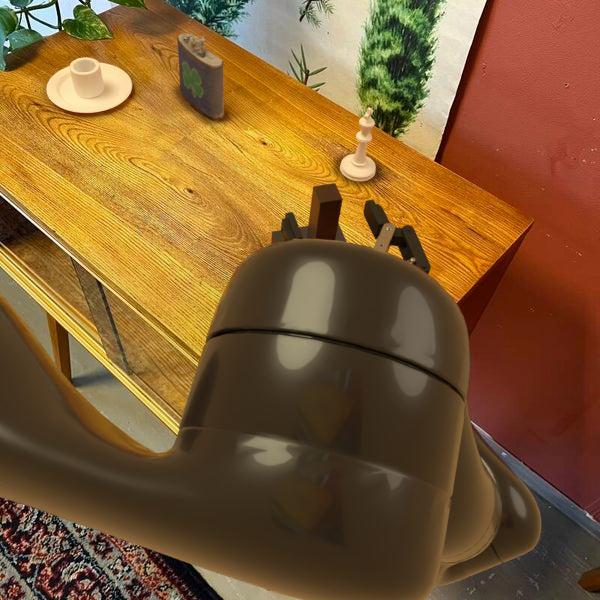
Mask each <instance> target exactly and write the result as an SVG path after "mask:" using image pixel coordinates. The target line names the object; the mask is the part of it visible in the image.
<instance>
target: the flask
mask: <svg viewBox="0 0 600 600" xmlns="http://www.w3.org/2000/svg"><path fill="white" fill-rule="evenodd" d="M176 41H177V42H176V43H177V54H178V55H177V57H178V72H179V73H178V76H179V94H180V96H181V97H182V98H183V100H184V101H185V102H186V103H187V104H188V105H189V106H190V107H191V108H193V109H194V110H195V111H197V112H198V113H199V114H201V115H202V116H203V117H205V118H206V119H209V120H211V121H214V122H216V121H220V120H221V119H224V115H225V103H224V102H225V101H224V100H225V99H224V61H223V59H222V58H221V57H219V56H217V55H216V54H215V53H212V52H211V51H209V50H208V49H207V48H205V46H204V45H205V44H204V43H205V42H206V39H205V36H201V38H199V36H198V35H197V36H195V35H193V34H191V33H188V32H183V33H180V34H179V35H178V36H177V38H176Z"/></svg>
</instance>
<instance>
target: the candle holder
mask: <svg viewBox="0 0 600 600" xmlns="http://www.w3.org/2000/svg"><path fill="white" fill-rule="evenodd" d="M132 89H133V81H132V79H131V77H130V75H129V74H128V73H127V72H126V71H125V70H123V69H121V68H120V67H118V66H116V65H113V64H109V63H107V62H106V63H105V62H99V61H98V60H97V59H95V58H93V57H88V56H87V57H79V58H76V59H74V60H72V61H71V62H70V64H69V65H68V66H66V67H63V68H62V69H60V70H57V72H55V73H54V74H53V75H52V76H51V77H50V78H49V80H48V81H47V84H46V94H47V98H48V99H49V100H50V101H51V102H52V104H54V105H56V107H59V108H61V109H63V110H66V111H69V112H73V113H81V114H91V113H93V114H94V113H99V112H104V111H107V110H110V109H114V108H115V107H117V106H119V105H121V104H122V103H124V101H126V100H127V98H128V97H129V96H130V95H131V93H132V91H133V90H132Z"/></svg>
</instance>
